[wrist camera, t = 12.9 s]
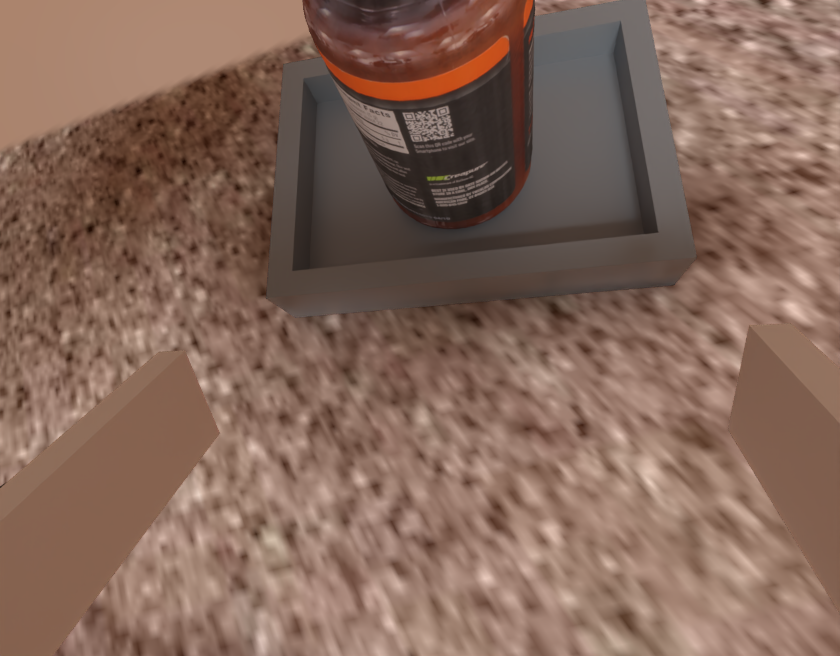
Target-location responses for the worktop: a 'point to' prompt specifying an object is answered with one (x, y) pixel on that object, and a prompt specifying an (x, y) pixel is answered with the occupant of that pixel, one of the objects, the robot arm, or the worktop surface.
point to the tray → (523, 219)
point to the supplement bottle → (436, 97)
